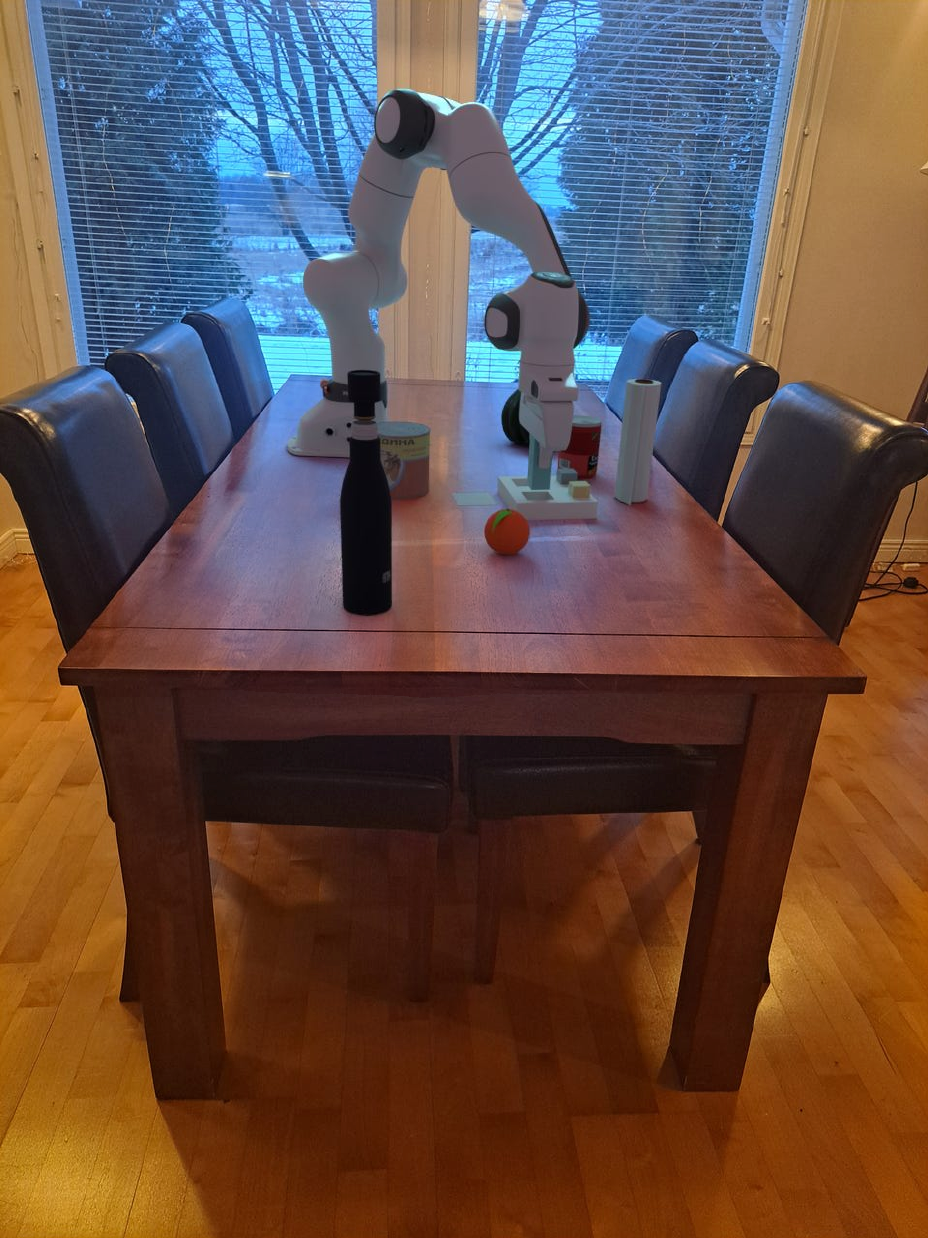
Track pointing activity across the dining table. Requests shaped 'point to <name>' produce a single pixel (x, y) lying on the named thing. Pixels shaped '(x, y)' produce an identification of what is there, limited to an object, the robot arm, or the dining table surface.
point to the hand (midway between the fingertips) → (539, 463)
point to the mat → (473, 499)
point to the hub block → (549, 497)
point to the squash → (514, 420)
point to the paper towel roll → (637, 440)
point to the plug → (537, 469)
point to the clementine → (507, 532)
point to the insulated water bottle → (365, 506)
